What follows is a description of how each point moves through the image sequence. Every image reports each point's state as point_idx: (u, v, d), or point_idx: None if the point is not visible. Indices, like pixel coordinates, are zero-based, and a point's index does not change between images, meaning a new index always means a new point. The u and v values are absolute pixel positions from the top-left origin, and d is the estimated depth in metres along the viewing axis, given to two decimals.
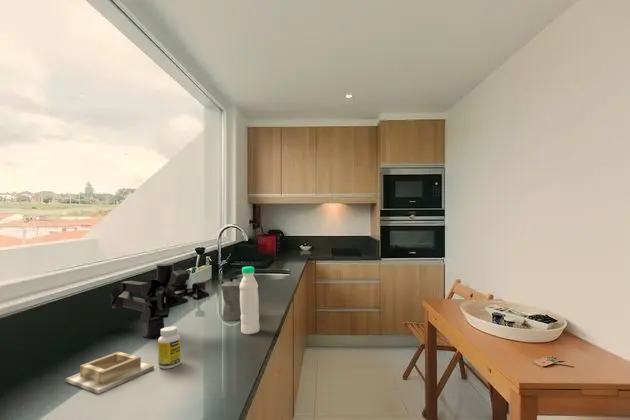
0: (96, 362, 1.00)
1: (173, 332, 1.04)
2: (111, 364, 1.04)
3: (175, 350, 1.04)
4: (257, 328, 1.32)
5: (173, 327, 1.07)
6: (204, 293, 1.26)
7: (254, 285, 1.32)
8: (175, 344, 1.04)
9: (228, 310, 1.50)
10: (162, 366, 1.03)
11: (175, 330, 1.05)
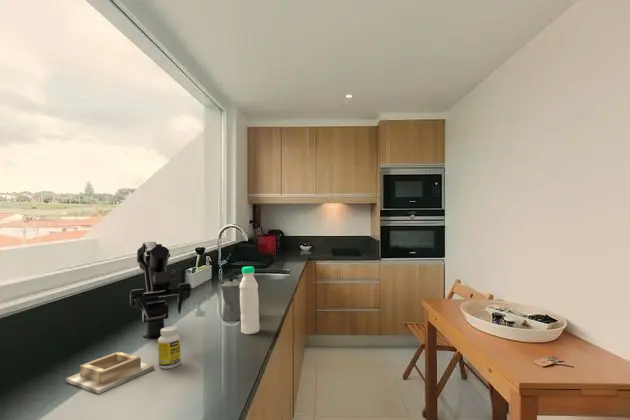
0: (96, 362, 1.00)
1: (173, 332, 1.04)
2: (111, 364, 1.04)
3: (175, 350, 1.04)
4: (257, 328, 1.32)
5: (173, 327, 1.07)
6: (178, 307, 1.15)
7: (254, 285, 1.32)
8: (175, 344, 1.04)
9: (228, 310, 1.50)
10: (162, 366, 1.03)
11: (175, 330, 1.05)
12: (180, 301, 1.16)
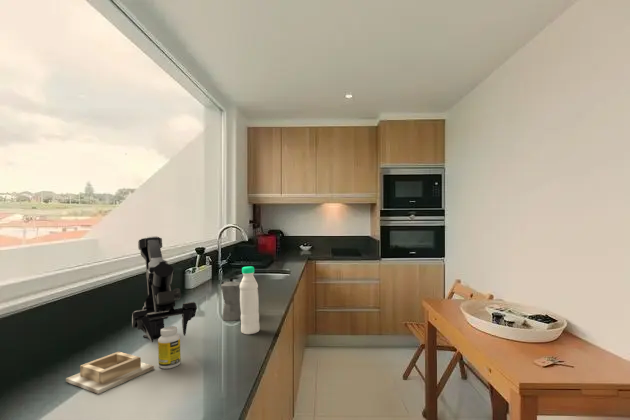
0: (96, 362, 1.00)
1: (173, 332, 1.04)
2: (111, 364, 1.04)
3: (175, 350, 1.04)
4: (257, 328, 1.32)
5: (173, 327, 1.07)
6: (183, 328, 1.09)
7: (254, 285, 1.32)
8: (175, 344, 1.04)
9: (228, 310, 1.50)
10: (162, 366, 1.03)
11: (175, 330, 1.05)
12: (185, 322, 1.10)
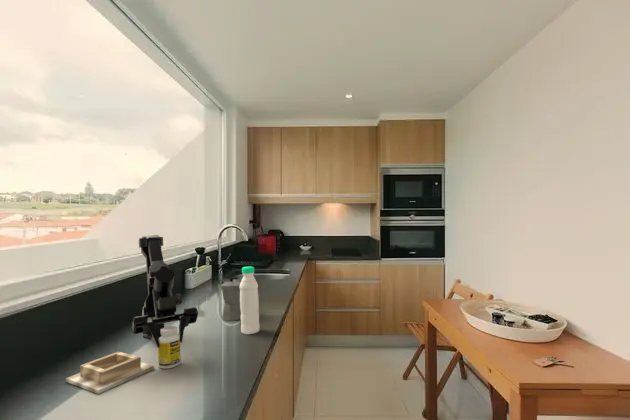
0: (96, 362, 1.00)
1: (173, 332, 1.04)
2: (111, 364, 1.04)
3: (175, 350, 1.04)
4: (257, 328, 1.32)
5: (173, 327, 1.07)
6: (179, 335, 1.07)
7: (254, 285, 1.32)
8: (175, 344, 1.04)
9: (228, 310, 1.50)
10: (162, 366, 1.03)
11: (175, 330, 1.05)
12: (182, 329, 1.08)
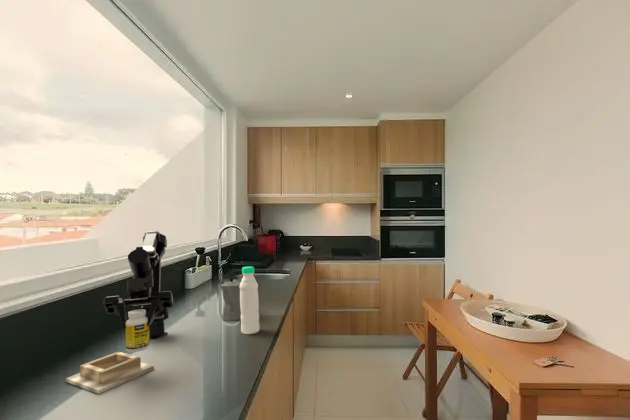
0: (96, 362, 1.00)
1: (139, 315, 1.00)
2: (111, 364, 1.04)
3: (141, 334, 1.00)
4: (257, 328, 1.32)
5: (142, 310, 1.03)
6: None
7: (254, 285, 1.32)
8: (140, 327, 1.00)
9: (228, 310, 1.50)
10: (127, 349, 0.99)
11: (141, 313, 1.01)
12: (151, 312, 1.03)
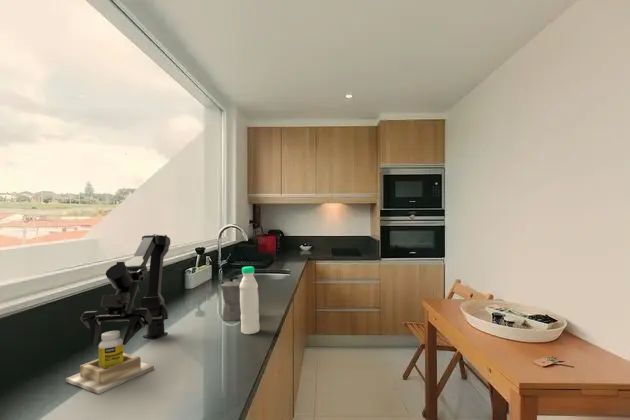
0: (96, 362, 1.00)
1: (111, 337, 0.98)
2: None
3: (111, 357, 0.98)
4: (257, 328, 1.32)
5: (116, 332, 1.01)
6: None
7: (254, 285, 1.32)
8: (110, 350, 0.98)
9: (228, 310, 1.50)
10: None
11: (113, 335, 0.99)
12: (128, 330, 1.01)
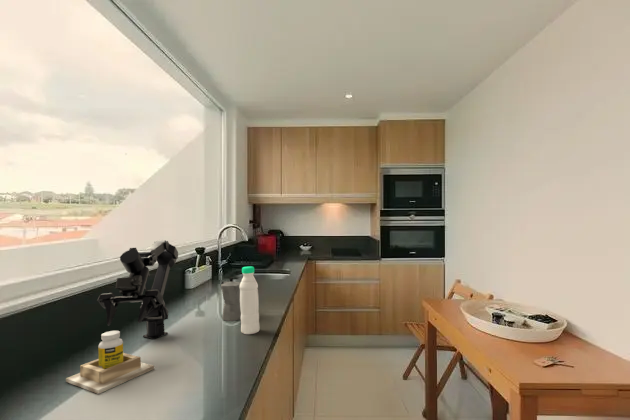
0: (96, 362, 1.00)
1: (110, 338, 0.98)
2: None
3: (111, 357, 0.98)
4: (257, 328, 1.32)
5: (116, 332, 1.01)
6: None
7: (254, 285, 1.32)
8: (110, 350, 0.98)
9: (228, 310, 1.50)
10: None
11: (113, 336, 0.99)
12: (142, 309, 1.10)
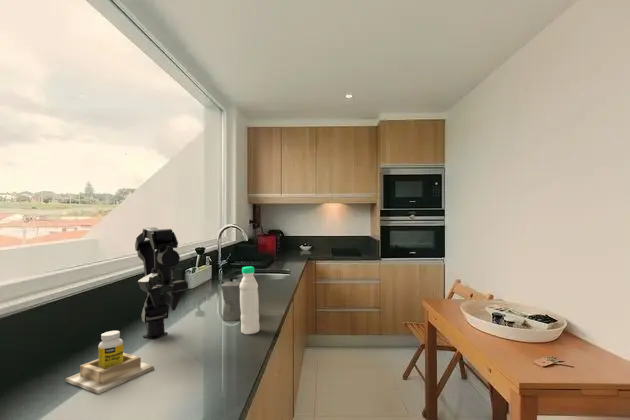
0: (96, 362, 1.00)
1: (110, 338, 0.98)
2: None
3: (111, 357, 0.98)
4: (257, 328, 1.32)
5: (116, 332, 1.01)
6: None
7: (254, 285, 1.32)
8: (110, 350, 0.98)
9: (228, 310, 1.50)
10: None
11: (113, 336, 0.99)
12: (171, 300, 1.18)
